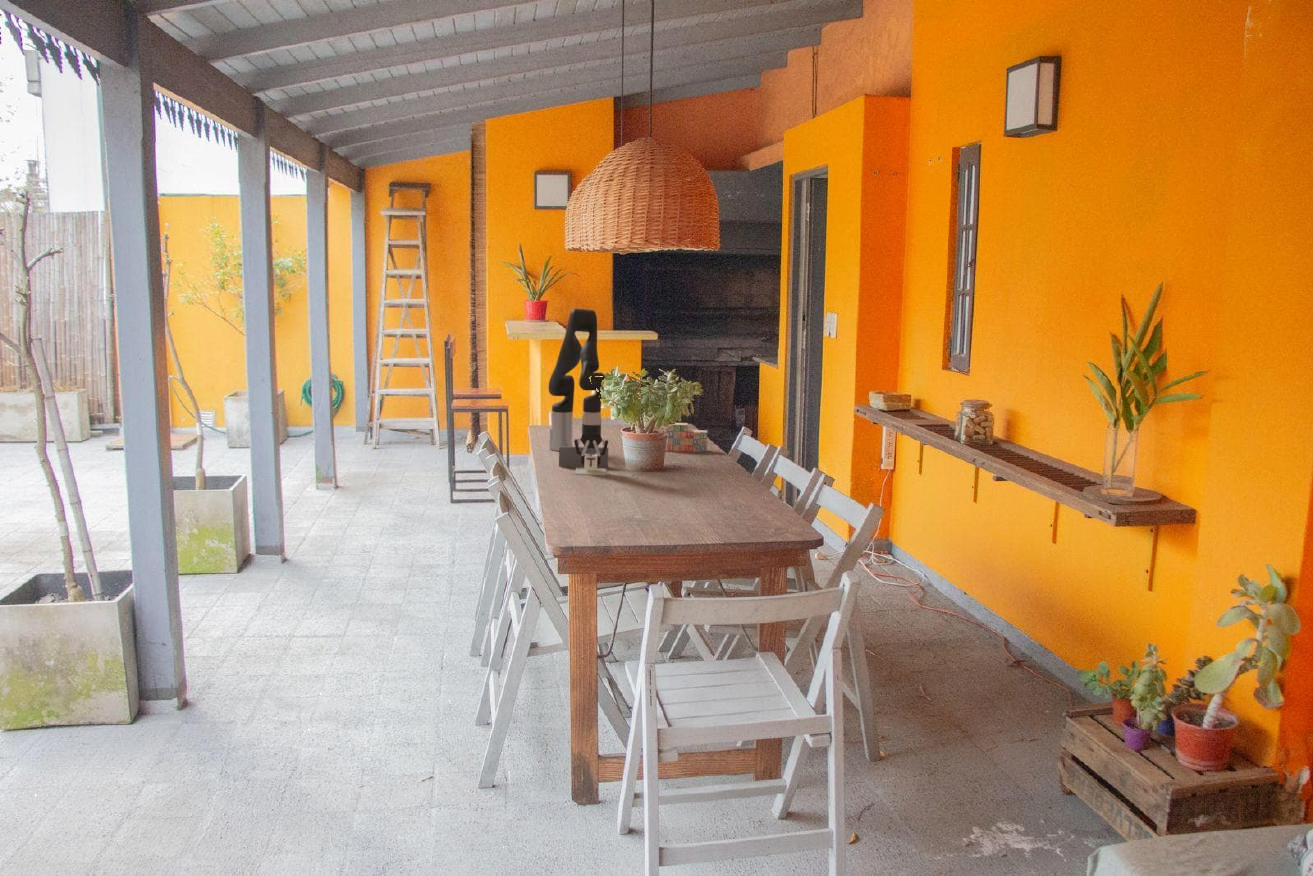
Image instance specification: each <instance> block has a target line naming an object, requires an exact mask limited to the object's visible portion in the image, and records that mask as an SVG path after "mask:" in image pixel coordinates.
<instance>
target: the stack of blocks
mask: <svg viewBox="0 0 1313 876" xmlns="http://www.w3.org/2000/svg"><path fill="white" fill-rule="evenodd" d="M674 423H675V424H673V425H671V426H668V428H667V434H668V443H667V451H666V452H686V453H690V452H691V453H707V450H708V449H707V448H708V430H701V429H700V430H699V429H688V424H689V423H688V422H674Z"/></svg>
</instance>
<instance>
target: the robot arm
mask: <svg viewBox="0 0 1313 876" xmlns="http://www.w3.org/2000/svg"><path fill="white" fill-rule="evenodd" d="M576 332H581V333H588V338H587V339H586V341H585V342H584V344H583V346H582V345H581V343H580V341H579V339H578V338H577V335H576ZM556 360H557V361H556V364H555V366H554V369H553V371H552V373H551V376H550V378H549V382H548V391H549V394H550V396H553V397H564V398H563V399H562V400H559V402H557V403H556V402H555V403H554V404H553V405H552V406H551V427H550V428H549V450H552V451H555V452H559V446H569V447H573V443H574V447H576V452H577V454H578V455H581V463H582V464H583V465H584V461H585V452H586V450H587V448H593V449H595V450H596V452H597V455H598V456H597V466H599V464H600V458H601V456H602V455H605V452H606V449H607V447H608V444H609V440H608V439H603V438H602V412H601V411H602V399H603V396H602V397H601V394H600V392H601V391H600V387H601V382H602V380H604V378H606V379H607V377H606V375H605V374H604V373H602V372H598V371H599V368H600V362H599V356H598V317H597V313H596V312H595V310H593V309H584V308H574V309H571V311H570V313H569V316H568V321H567V325H566V330H565V334H564V338H563V341H562V344H561V346H560V350H559V354H558V357H557V359H556ZM579 363H580V365H581V366H580V368H581V370H580V375H579V379H578V384H579V387H580V389H582V390H583V391H595V393H596V394H595V393H593V394H591V395H589V396H585V397H584V398H583V400H582V404H583V405H582V418H581V437H580V438H578V439H577V438H574V440H573V430H574V428H573V425H574V421H573V420H574V415H573V414H574V400H575V398H574V397H575V378H574V377H573V375H569V374H568V373H570V372H571V371H572V370H573V369H575V368H576V367H577V366H578V364H579ZM590 376H592V377H591V382H590V379H589V377H590ZM595 376H603V377H595ZM591 383H592V384H591ZM596 388H597V389H598V390H599V392H597V391H596ZM599 396H600V397H599ZM600 399H601V401H600ZM581 443H582V444H583V447H584V448H583V450H582V452H581V451H580V450H579V447H580V444H581ZM601 443H602V445H603V451H602V452H600V451H599V447H600V446H599V445H600V444H601Z"/></svg>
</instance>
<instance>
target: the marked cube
mask: <svg viewBox="0 0 1313 876" xmlns="http://www.w3.org/2000/svg"><path fill="white" fill-rule="evenodd" d="M583 468H584V469H597V468H598V467H597V454H585V461H584V467H583Z"/></svg>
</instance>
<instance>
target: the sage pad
mask: <svg viewBox="0 0 1313 876" xmlns="http://www.w3.org/2000/svg"><path fill="white" fill-rule="evenodd" d="M606 468H607V467H597V469H584V467H575V472H574V475H577V476H578V475H579V476H582V475H583V476H606V475H607V470H606Z"/></svg>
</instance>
